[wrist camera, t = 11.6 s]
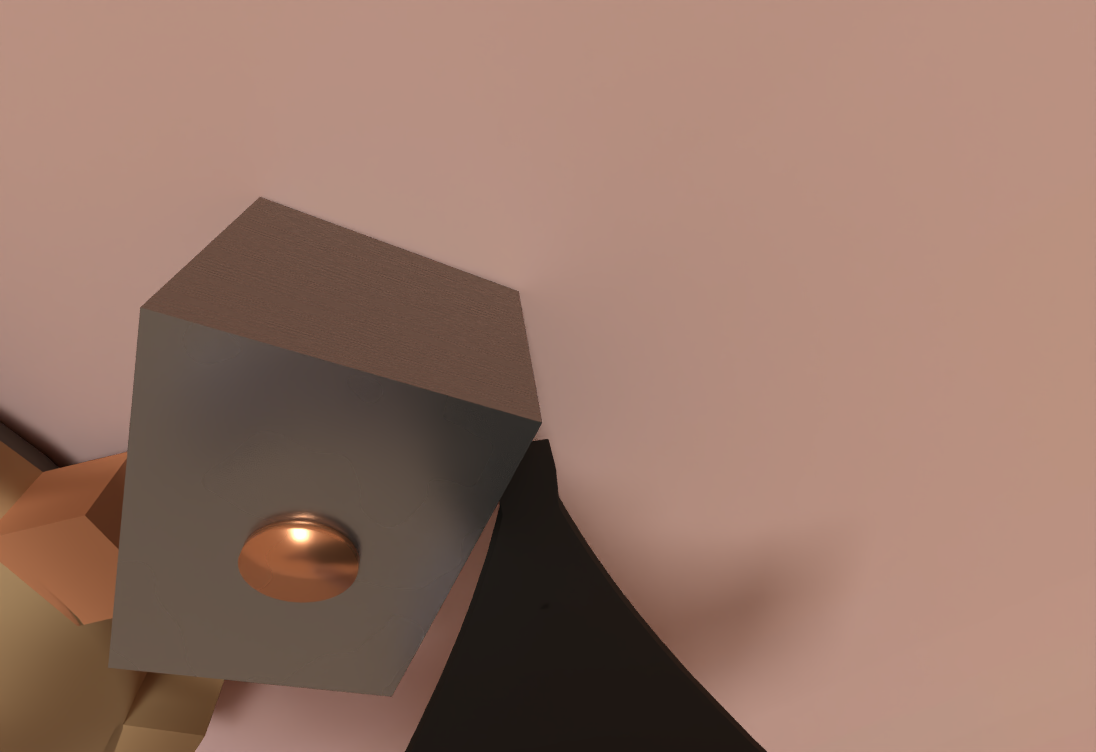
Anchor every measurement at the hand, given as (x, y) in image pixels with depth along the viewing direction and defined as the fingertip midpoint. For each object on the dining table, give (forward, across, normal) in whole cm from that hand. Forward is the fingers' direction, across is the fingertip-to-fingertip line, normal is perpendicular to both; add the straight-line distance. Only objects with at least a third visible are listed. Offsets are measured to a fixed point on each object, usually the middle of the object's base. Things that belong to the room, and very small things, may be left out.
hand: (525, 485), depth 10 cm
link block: (+2, +3, -1) cm, 4 cm away
